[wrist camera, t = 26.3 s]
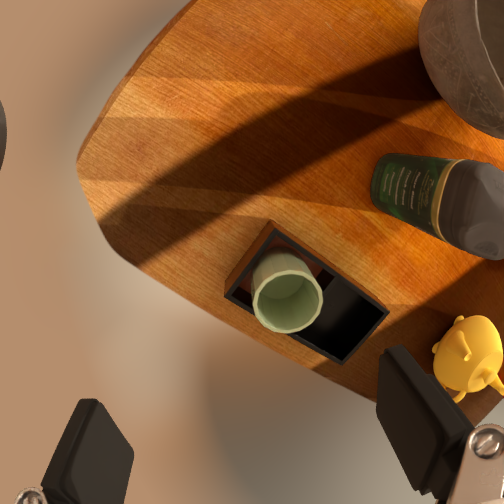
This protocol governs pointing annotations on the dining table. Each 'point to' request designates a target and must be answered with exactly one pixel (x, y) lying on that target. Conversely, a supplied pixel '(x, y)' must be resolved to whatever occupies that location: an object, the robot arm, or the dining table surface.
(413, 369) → the robot arm
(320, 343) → the black divided tray
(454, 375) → the teapot
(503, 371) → the apple
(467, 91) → the bowl
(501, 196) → the coffee jar
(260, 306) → the sage cup
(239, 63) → the dining table surface
